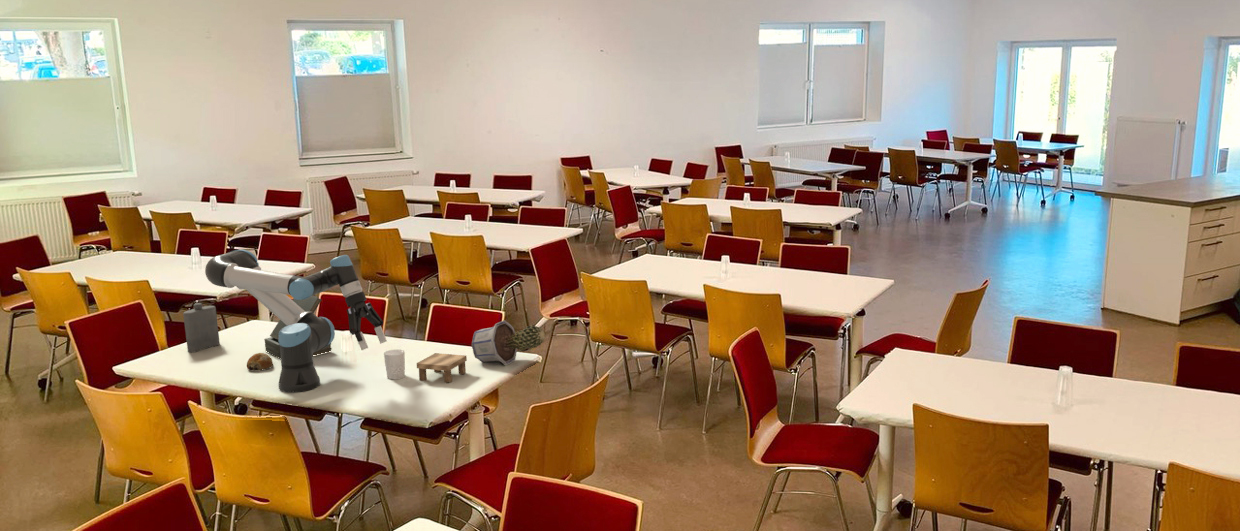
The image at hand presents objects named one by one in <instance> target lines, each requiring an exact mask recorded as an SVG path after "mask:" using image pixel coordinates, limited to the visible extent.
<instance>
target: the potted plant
mask: <svg viewBox="0 0 1240 531" xmlns="http://www.w3.org/2000/svg"><path fill="white" fill-rule="evenodd" d="M545 338H546V334H545V332H544V329H542V328H541V327H539V326H537V325H534V324H532V325H531V324H530V325H528V326H526V327H524V328H523V329H521V330H517V331H515V328H514V327H513V326H512V325H511V324H510V322H507V320H505V319H504V320H502V321H499V322H497V323H495V324H494V325H493V326H492V327H487V328H481V329H479V330H475V331H474V333H473V336H472V341H471V349H472V352H473V356H474V358H475V359H477V360H478V361H479V362H481V363H485V362H500V363H502V364H503V365H505V366H507V365H510V364H511V363H513V362H514V361H515V360H516V357H517V353H518V351H525V350H527V349H533V348H534V349H535V348H537V347H538V346H541V345H542V344H543V343H544V342H545Z"/></svg>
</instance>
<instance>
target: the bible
mask: <svg viewBox="0 0 1240 531" xmlns="http://www.w3.org/2000/svg"><path fill="white" fill-rule="evenodd" d="M292 298H293V297H292ZM291 300H292V301H294V302H295V303H296V304H297V305H298V306H299V307H301V308H302V309H303V310H304V311H305V312H310V311H311V312H312V313H316V312H315V311H316V310H317V308H318V306H319V305H320V303H321V302H322V298H320V297H318V296H316V295H313V296H310V297H309V298H307V299H302V300H297V299H295V298H293V299H291ZM285 326H287V325H286V324H285V323H284V322H283V321H281V320H280V319H278V321H277V324H276V325H275V327H274V328H273V330H272V332H271V333H270V335H269V337H266V338H264V347H265V348H264V349H265V352H266V351H267V352H269V353H271V354H273V355H275V356H274V357H276V356H277V357H276V358H278V357H279V358H278V359H280V358H281V357H280V347H279V342H278V339H279V331H280V330H281V329H282V328H284V327H285ZM331 345H332V342H331V343H330V344H329V345H328V346H327V347H325V348H323V349H320V350H318V351H316V352H314V353H313V355H317V354H321V353H325V352H329V351H331V352H332V350H333V348H332V346H331ZM267 352H266V353H267ZM269 353H268V354H269ZM271 354H270V355H271ZM273 355H272V356H273Z"/></svg>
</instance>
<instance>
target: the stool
mask: <svg viewBox="0 0 1240 531" xmlns="http://www.w3.org/2000/svg"><path fill="white" fill-rule="evenodd" d="M466 362H467V355H461V354H449V353H440V352H439V353H437V352H435V353H433V354H431V355H429V356H427V357H425V358H423V359H421V360H420V361H418V362H416V369H418V375H419V376H418V378H419V381H422V382H425V381H427V379H428V377H427V375H428V374H427V370H432V371H433V372H434V373H439V372H440V373H441V372H442V371H443V378H444V383H445V382H447V383H446V384H449V383H448V382H450V383H452V382H453V378H452V370H453V369H455V368H457V367H458V375H465V374H466V373H467V371H466ZM464 373H465V374H464ZM424 380H425V381H424ZM451 381H452V382H451Z"/></svg>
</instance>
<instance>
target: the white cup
mask: <svg viewBox="0 0 1240 531" xmlns="http://www.w3.org/2000/svg"><path fill="white" fill-rule="evenodd" d="M405 353H406V352H405V350H404V349H403V350H402V349H390V350H386V351H385V352H383V357H384V359H383V360H384V365H385V371H386V378H387V379H388V380H400V379H402V378H405V372H406V371H405V370H406V358H405V356H406V355H405Z"/></svg>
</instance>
